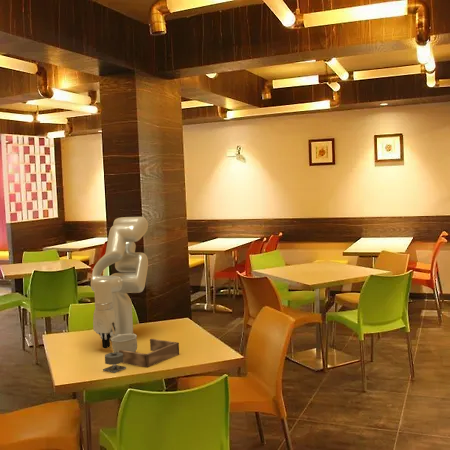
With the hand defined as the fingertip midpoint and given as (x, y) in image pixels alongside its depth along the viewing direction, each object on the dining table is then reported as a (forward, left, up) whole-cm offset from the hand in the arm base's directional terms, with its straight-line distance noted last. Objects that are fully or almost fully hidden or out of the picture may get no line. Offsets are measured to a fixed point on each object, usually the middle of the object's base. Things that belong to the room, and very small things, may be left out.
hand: (106, 347), depth 261 cm
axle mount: (+23, -18, -2) cm, 29 cm away
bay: (+25, 0, -2) cm, 25 cm away
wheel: (+23, -18, +2) cm, 29 cm away
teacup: (+11, 0, -2) cm, 11 cm away
